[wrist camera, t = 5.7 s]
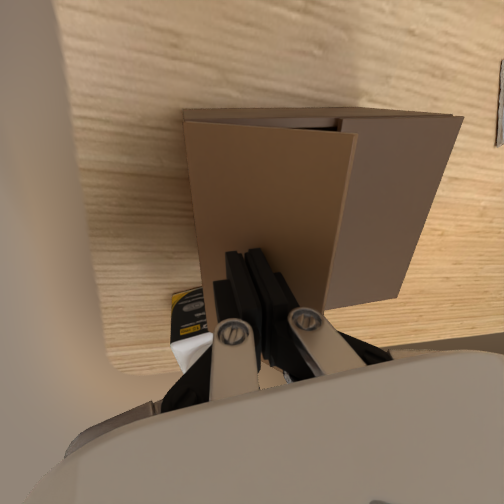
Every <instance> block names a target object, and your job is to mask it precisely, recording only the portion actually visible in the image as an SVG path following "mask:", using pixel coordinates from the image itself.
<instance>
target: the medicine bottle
mask: <svg viewBox="0 0 504 504" xmlns="http://www.w3.org/2000/svg"><path fill="white" fill-rule="evenodd" d="M212 343H213V334H212V333H211V332H209V331H208V328H207V319H206V311H205V303H204V295H203V287H200V288H197V289H193V290H189V291H185V292H181V293H178V294H174V295H173V296H172V311H171V337H170V347H171V349H172V351H173V353H174V355H175V358H176V360H177V362H178V364H179V366H180V368H181V370H182V372H183V374H185V373H186V371H187V370H188V369H189V368H190V367H191V366H192V365H193V364H194V363H195V362H196V361H197V360H198V358H199V357H200V356H201V355H202V354H203V353H204V352H205V351H206V350H207V349H208V348H209V347H210V345H211V344H212ZM259 390H260V387H259Z"/></svg>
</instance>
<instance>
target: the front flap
mask: <svg viewBox="0 0 504 504" xmlns="http://www.w3.org/2000/svg"><path fill="white" fill-rule="evenodd" d="M183 129H184V137H185V146H186V154H187V162H188V171H189V179H190V187H191V195H192V204H193V212H194V220H195V228H196V237H197V245H198V253H199V261H200V270H201V278H202V286H203V295H204V303H205V311H206V319H207V328H208V331H209V332H211V333H212V334H213V332H214V329H215V327H216V326H217V324H218V321H217V315H216V309H215V301H214V292H213V281H217V280H224V279H226V264H225V252H228V251H237V252H238V253H242V255H243V258H244V253H245V252H248V249H253V248H261V250H262V252H263V254H264V256H265V258H266V260H267V262H268V264H269V265H270V267H271V269H272V271H273V273H275V272H281V274H282V275H283V277H284V279H285V280H286V282H287V284H288V286H289V288H290V289H291V291H292V293H293V295H294V296H295V298H296V300H297V302H298V304H299V305H300V307H301V306H305V307H311V308H314V309H316V310H318V311H319V312H320V313H322V314H323V315H324V309H325V304H326V299H327V294H328V289H329V284H330V278H331V273H332V268H333V263H334V258H335V253H336V247H337V242H338V237H339V232H340V227H341V222H342V216H343V211H344V206H345V201H346V196H347V191H348V185H349V180H350V175H351V170H352V165H353V160H354V154H355V149H356V144H357V139H358V134H357V133H347V132H333V131H319V130H305V129H291V128H277V127H263V126H249V125H235V124H221V123H207V122H193V121H186V122H183ZM261 361H262V362H264V363H266V364H267V365H269V366H270V364H269V361H268V360H264V359H263V356H262V353H261ZM273 368H274V369H276V370H278V371H280V372H282V373H283V370H282V369H280V368H278V367H276V366H274V367H273Z"/></svg>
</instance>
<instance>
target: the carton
mask: <svg viewBox="0 0 504 504" xmlns="http://www.w3.org/2000/svg"><path fill="white" fill-rule="evenodd" d="M182 111H183V119H184V122H186V121H193V122H207V123H221V124H235V125H249V126H263V127H277V128H291V129H305V130H319V131H333V132H347V133H357V134H358V139H357V144H356V149H355V154H354V160H353V165H352V170H351V175H350V180H349V185H348V191H347V196H346V201H345V206H344V211H343V216H342V222H341V227H340V232H339V237H338V242H337V247H336V253H335V258H334V263H333V268H332V273H331V278H330V284H329V289H328V294H327V299H326V304H325V309H324V310H330V309H336V308H341V307H347V306H353V305H358V304H364V303H370V302H376V301H381V300H387V299H393V298H397V296H398V294H399V291H400V288H401V286H402V283H403V280H404V278H405V275H406V272H407V270H408V267H409V264H410V261H411V259H412V256H413V253H414V251H415V248H416V245H417V243H418V240H419V237H420V235H421V232H422V229H423V227H424V224H425V221H426V219H427V216H428V213H429V211H430V208H431V205H432V203H433V200H434V197H435V195H436V192H437V189H438V186H439V184H440V181H441V178H442V176H443V173H444V170H445V168H446V165H447V162H448V160H449V157H450V154H451V152H452V149H453V146H454V144H455V141H456V138H457V136H458V133H459V130H460V128H461V125H462V122H463V119H464V116H453V115H452V114H441V113H428V112H415V111H402V110H389V109H376V108H363V107H322V108H215V109H182Z"/></svg>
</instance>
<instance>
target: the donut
mask: <svg viewBox="0 0 504 504" xmlns="http://www.w3.org/2000/svg"><path fill="white" fill-rule="evenodd" d="M501 66H502V67H501V68H502V69H501V73H500V74H501V76H500V77H501V78H500V80H501V81H500V82H501V93H500V100H499V103H500V105H499V111H498V112H499V113H498V114H499V120H498V136H497V137H498V138H497V148H498V147H500V146H501V145H503V144H504V60H503V61H502V65H501Z"/></svg>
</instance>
